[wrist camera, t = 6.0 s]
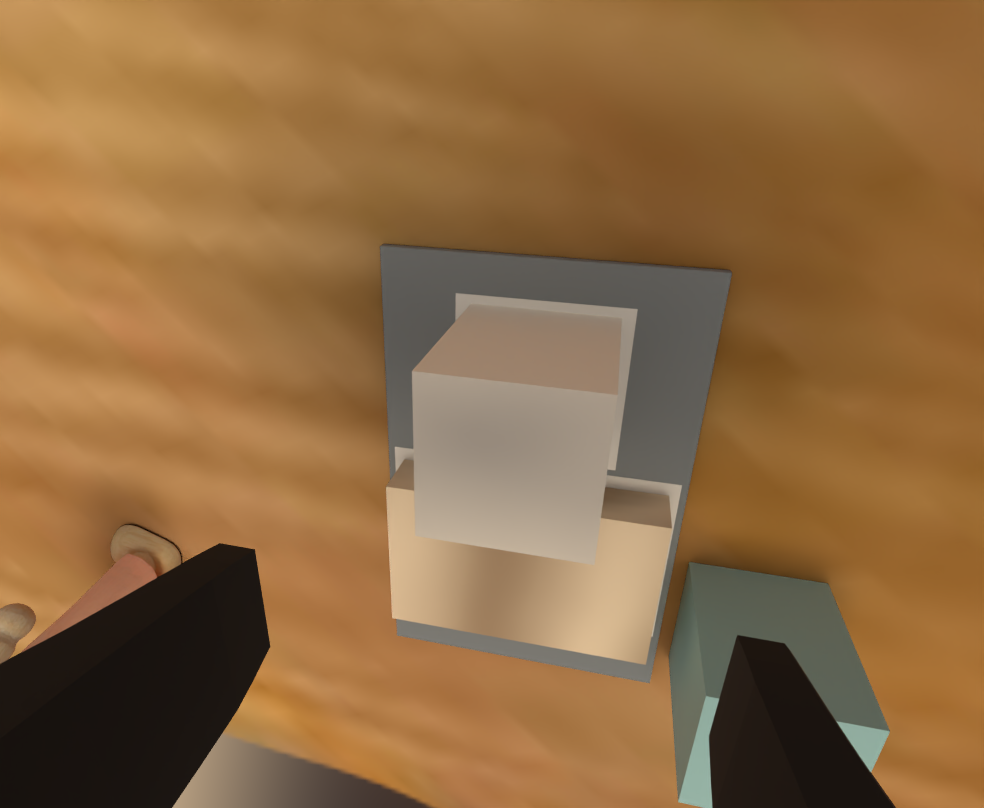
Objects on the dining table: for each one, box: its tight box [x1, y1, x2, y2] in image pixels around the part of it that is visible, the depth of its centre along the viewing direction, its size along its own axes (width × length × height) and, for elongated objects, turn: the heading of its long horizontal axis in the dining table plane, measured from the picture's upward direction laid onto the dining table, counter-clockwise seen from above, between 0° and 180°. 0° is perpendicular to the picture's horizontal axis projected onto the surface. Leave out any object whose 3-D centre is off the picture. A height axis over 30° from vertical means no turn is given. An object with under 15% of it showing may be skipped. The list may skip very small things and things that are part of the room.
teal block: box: [669, 562, 890, 808], centre depth 17 cm, size 4×4×5 cm
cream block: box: [412, 303, 622, 565], centre depth 15 cm, size 4×4×5 cm
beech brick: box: [386, 459, 672, 665], centre depth 19 cm, size 8×5×2 cm, turn 89°
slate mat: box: [380, 244, 732, 683], centre depth 19 cm, size 9×14×1 cm, turn 179°
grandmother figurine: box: [0, 525, 181, 664], centre depth 19 cm, size 8×4×13 cm, turn 11°
